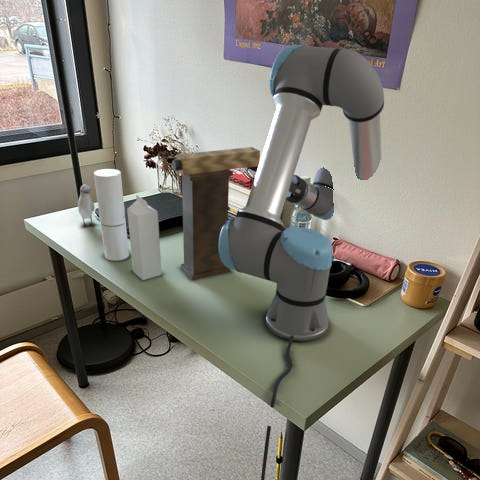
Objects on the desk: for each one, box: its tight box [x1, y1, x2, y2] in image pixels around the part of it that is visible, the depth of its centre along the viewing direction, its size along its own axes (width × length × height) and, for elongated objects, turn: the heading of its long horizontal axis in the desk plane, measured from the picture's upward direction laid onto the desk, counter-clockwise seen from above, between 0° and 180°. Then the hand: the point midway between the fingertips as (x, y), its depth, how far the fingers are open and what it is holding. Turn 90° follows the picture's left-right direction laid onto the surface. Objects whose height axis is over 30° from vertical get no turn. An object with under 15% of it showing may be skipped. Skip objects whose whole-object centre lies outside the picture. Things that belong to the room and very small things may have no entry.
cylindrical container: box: [93, 168, 130, 262], centre depth 136 cm, size 7×7×25 cm
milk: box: [126, 195, 162, 281], centre depth 128 cm, size 6×6×22 cm
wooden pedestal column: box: [177, 169, 234, 281], centre depth 129 cm, size 12×8×29 cm, turn 119°
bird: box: [77, 183, 96, 228], centre depth 156 cm, size 5×14×15 cm, turn 29°
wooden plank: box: [171, 146, 261, 176], centre depth 121 cm, size 24×4×4 cm, turn 119°
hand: (245, 161), depth 126 cm, fingers open, 13 cm apart
